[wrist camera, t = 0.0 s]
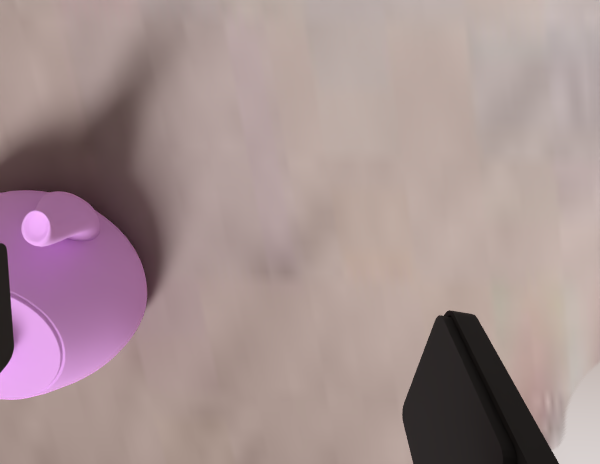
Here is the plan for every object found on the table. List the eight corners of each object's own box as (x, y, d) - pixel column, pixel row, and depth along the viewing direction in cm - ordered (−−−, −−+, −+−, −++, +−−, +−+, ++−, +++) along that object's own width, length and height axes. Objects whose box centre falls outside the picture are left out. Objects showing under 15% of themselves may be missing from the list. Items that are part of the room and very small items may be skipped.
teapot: (104, 386, 52) (42, 505, 40) (-65, 315, 48) (-191, 422, 36) (208, 199, 43) (170, 279, 30) (10, 93, 39) (-125, 135, 27)
